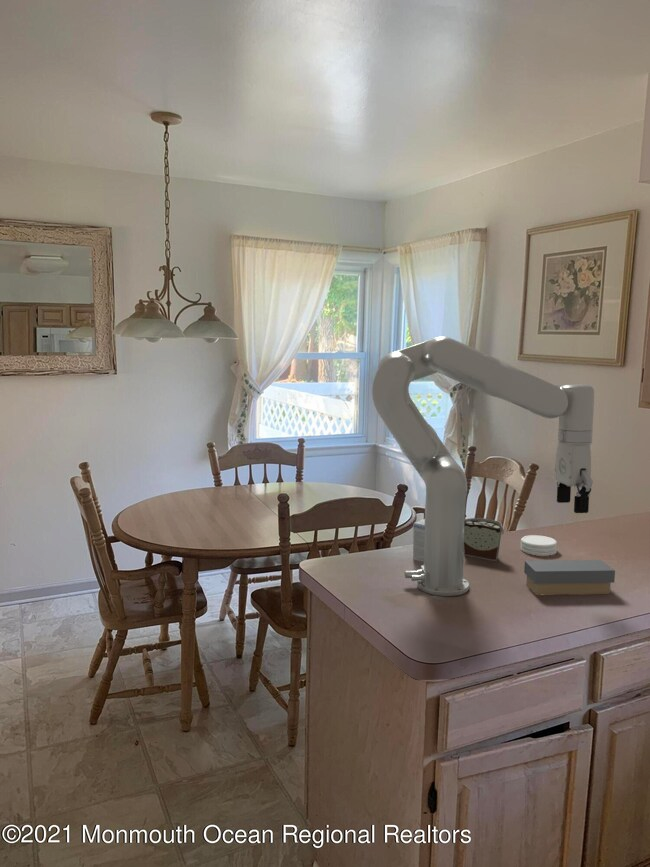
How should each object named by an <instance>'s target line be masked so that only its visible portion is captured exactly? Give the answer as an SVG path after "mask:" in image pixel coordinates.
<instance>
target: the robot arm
mask: <svg viewBox="0 0 650 867" xmlns="http://www.w3.org/2000/svg"><path fill="white" fill-rule="evenodd" d="M377 368H378V369H377V370H376V373H375V376H374V379H373V381H372V387H371V388H372V389H371V390H372V395H371V396H372V402H373V405H374V407H375V410H376V412H377V414H378V415H379V417H380V419H381V420H382V421H383V423H384V424H385V426H386V428H387V429H388V431H389V433H390V434H391V435H392V437H393V438H394V440H395V441H396V443H397V444H398V446H399V447H400V450H401V453H402V454H403V455H404V456H405V457H406V458H407V459H408V461H409V462H410V463H411V465H412V467H414V469H415V470H416V471H417V474H418V475H419V476H420V477H421V479H422V481H423V482H424V485H425V502H424V503H425V505H424V519H425V539H424V562H423V565H420V568H418V569H417V570H411V569H408V570H404V579H411V582H416V585H417V587H418V588H419V589H420V590H421V591H422V592H425V593H427V594H431V595H434V596H439V597H452V596H453V597H454V596H455V597H456V596H460V595H464V594H465V593H467V592H469V589H470V583H469V580H467V579H465V578H464V556H465V555H464V520H465V519H466V516H465V513H466V501H467V494H468V480H467V476H466V473H465V471H464V469H463V467H461V466H460V465H459V464H458V462H457V461H456V460H455V458H454V457H453V455H452V454H451V453H450V452H449V450H448V448H447V447H446V446H445V444H444V442H442V440H441V438H440V437H439V436H438V433H437V431H436V430H435V429H434V428H433V427H432V425H430V423H428V421H427V420H426V419H425V417H424V416H423V414H422V413H421V412H420V410H419V408H418V407H417V405H416V404H415V402H414V401H413V399H412V398H411V395H410V390H409V388H410V384H411V383H412V382H415V381H416V380H420V379H423V378H425V377H429V376H432V375H435V374H437V373H438V374H441V375H442V376H445V377H447V378H449V379H451V380H454V381H456V382H458V383H461V384H462V385H464V386H468V387H469V388H472V389H474V390H476V391H478V392H481V393H482V394H486V395H488V396H490V397H494V398H497V399H501V400H504V401H505V402H508V403H511V404H514V405H515V406H518V407H520V408H523V409H525V410H527V411H529V412H530V413H532V414H534V415H537V416H539V417H542V418H545V419H557V418H558V432H557V448H556V453H555V454H556V455H555V466H554V479H555V480H556V488H557V489H556V503H558V504H562V503H565V504H569V503H570V502H571V495H572V494H571V492H572V489H571V488H572V487H574V492H575V495H574V499H573V500H574V501H573V503H574V505H573V512H574V513H575V514H588V513H589V510H590V509H589V508H590V506H589V505H590V496H591V491H592V486H593V484H594V483H593V479H592V476H591V475H592V456H591V454H592V452H591V445H592V444H593V429H594V428H593V424H594V411H595V409H594V407H595V406H594V405H595V389H594V387H593V386H592V385H590V384H579V383H578V384H576V383H575V384H574V383H573V384H571V383H570V384H569V383H568V384H565V385H559V384H553V383H551V382H549V381H547V380H544V379H542V378H539V377H537V376H535V375H533V374H530V373H527V372H526V371H524V370H522V369H519V368H516V367H515V366H513V365H511V364H509V363H507V362H505V361H503V360H501V359H498V358H496V357H494V356H491V355H490V354H488V353H485V352H482V351H481V350H478V349H476V348H474V347H471V346H469V345H467V344H464V343H463V342H460V341H458V340H456V339H453V338H451V337H448V336H435V337H433V338H431V339H427V340H425V341H423V342H420V343H416V344H414V345H411V346H407V347H404V348H402V349H398V350H396V351H392V352H389V353H387V354H386V355H384V356H383V357H382V358H381V360H380V361H379V364H378V366H377Z"/></svg>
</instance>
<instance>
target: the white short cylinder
mask: <svg viewBox="0 0 650 867" xmlns="http://www.w3.org/2000/svg"><path fill="white" fill-rule="evenodd" d="M557 545H558V541H557V540H556V539H554V537H553V538H552V537H550V536H545V535H538V534H537V535H536V534H529V535H524V536H523V537H522V538H521V539H520V550H521V552H523V553H525V554H526V555H527V554H528V555H530V554H531V556H535V555H536V557H537V556H538V557H550V556H549V555H551V556H555V555H556V554H557V552H558V546H557Z"/></svg>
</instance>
